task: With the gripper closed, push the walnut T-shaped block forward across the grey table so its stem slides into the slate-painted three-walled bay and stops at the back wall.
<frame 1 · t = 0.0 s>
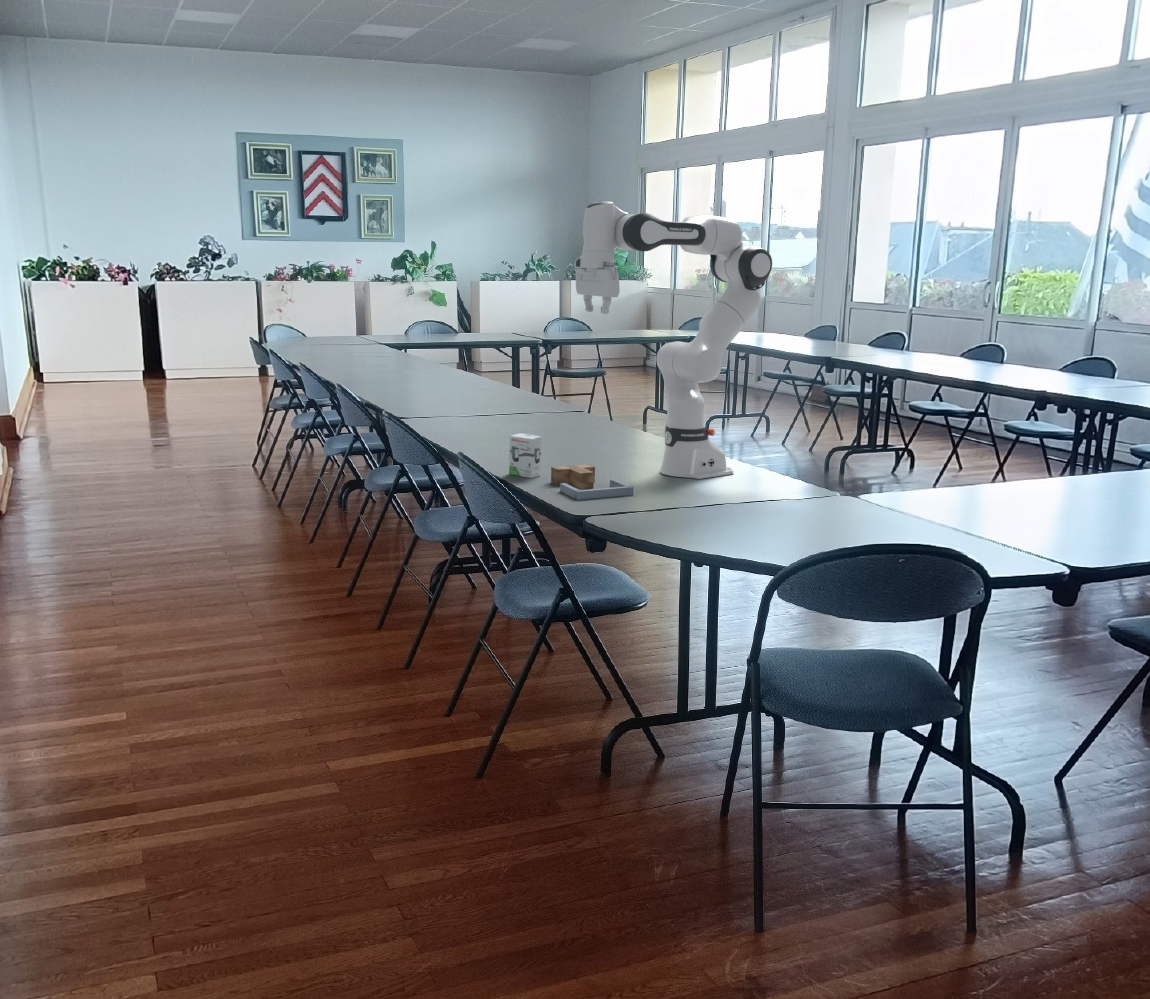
hand: (596, 312, 295), 48 cm above the table, fingers open, 8 cm apart
t block: (572, 482, 303), on the table
ink box: (524, 475, 311), on the table
bay fence: (596, 493, 290), on the table
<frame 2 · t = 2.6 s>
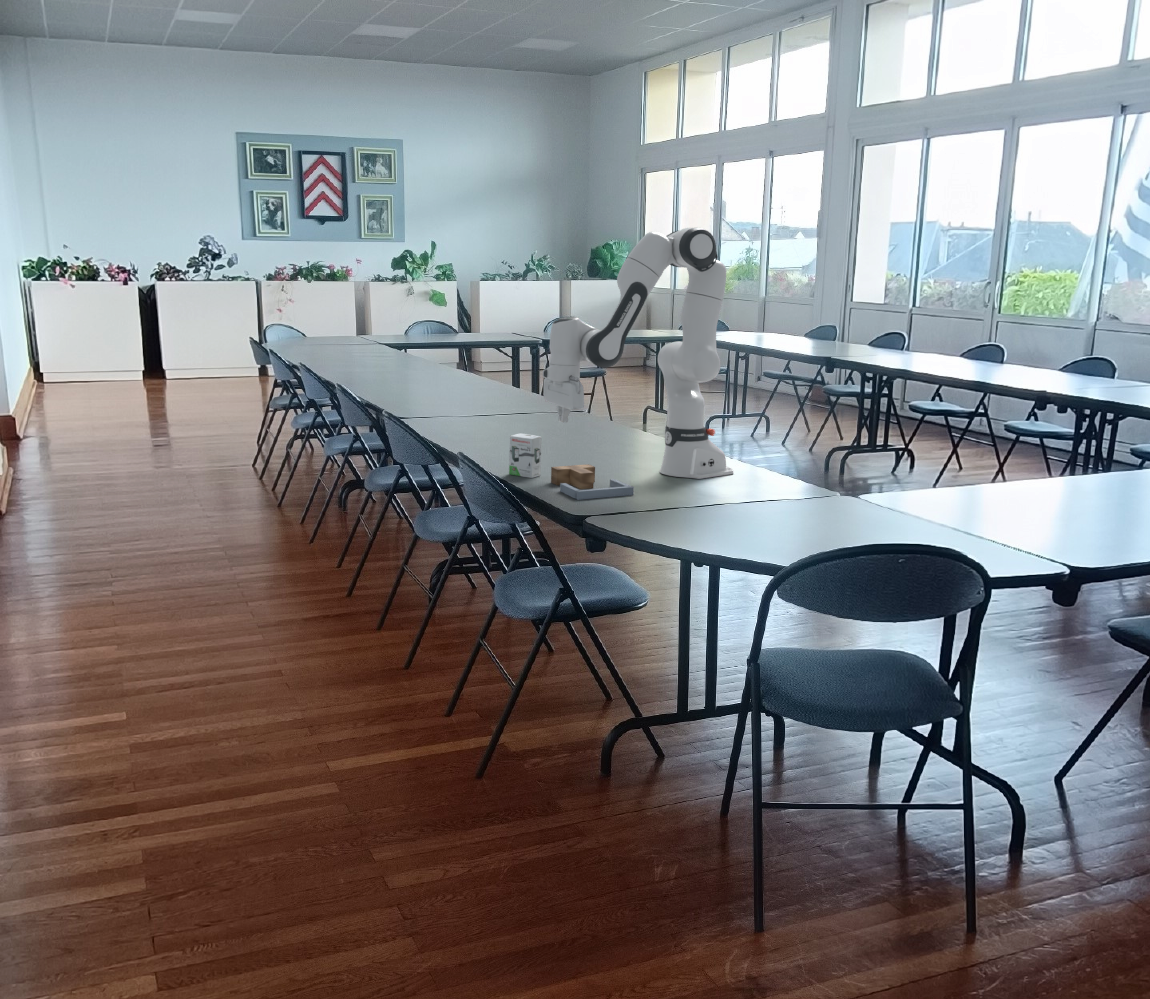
hand: (563, 421, 305), 16 cm above the table, fingers closed
nothing on the table moved.
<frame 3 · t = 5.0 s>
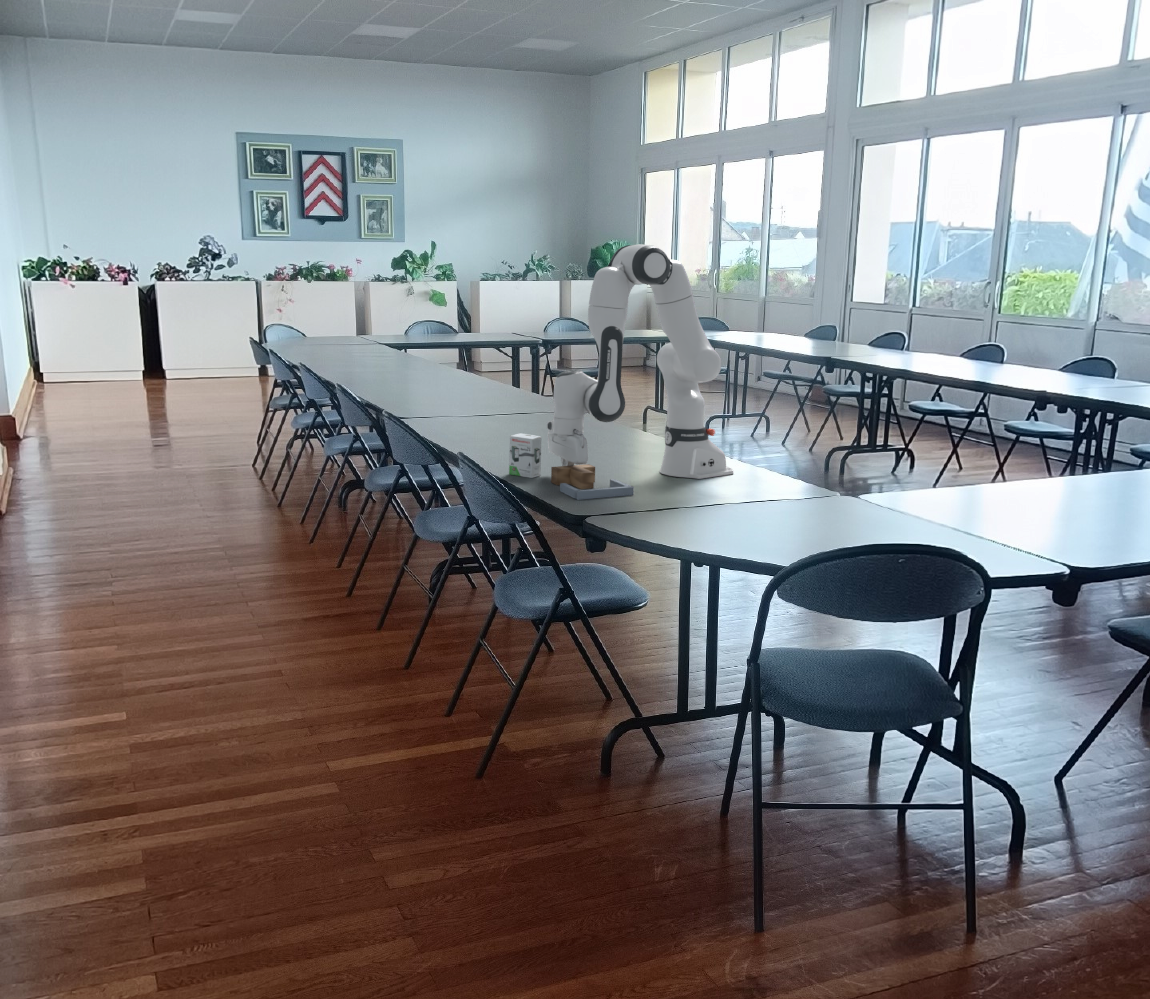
hand: (567, 474, 306), 2 cm above the table, fingers closed
t block: (573, 482, 303), on the table, touching gripper
everything else where it was.
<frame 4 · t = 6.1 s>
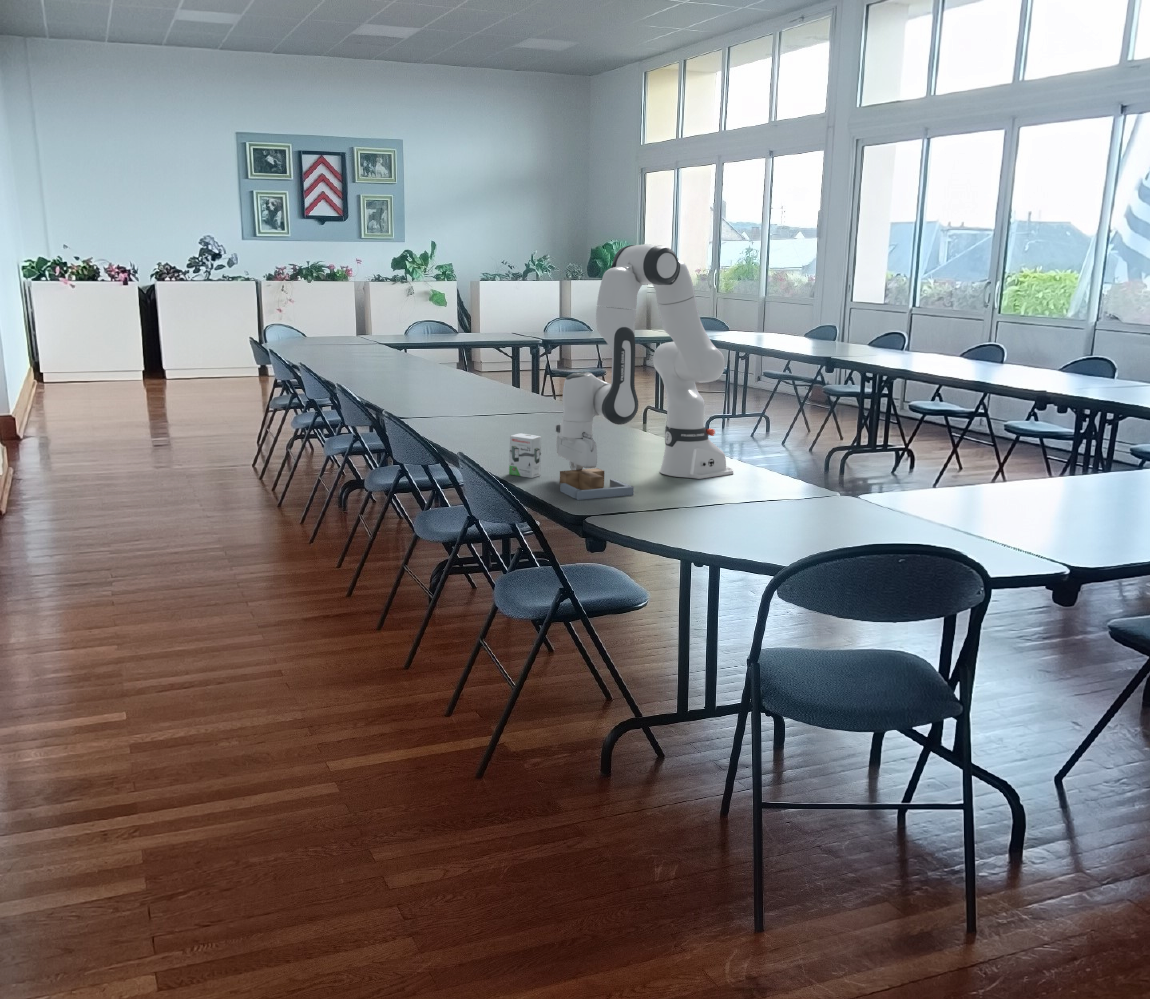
hand: (575, 477, 300), 2 cm above the table, fingers closed
t block: (581, 486, 297), on the table, touching gripper
everything else where it was.
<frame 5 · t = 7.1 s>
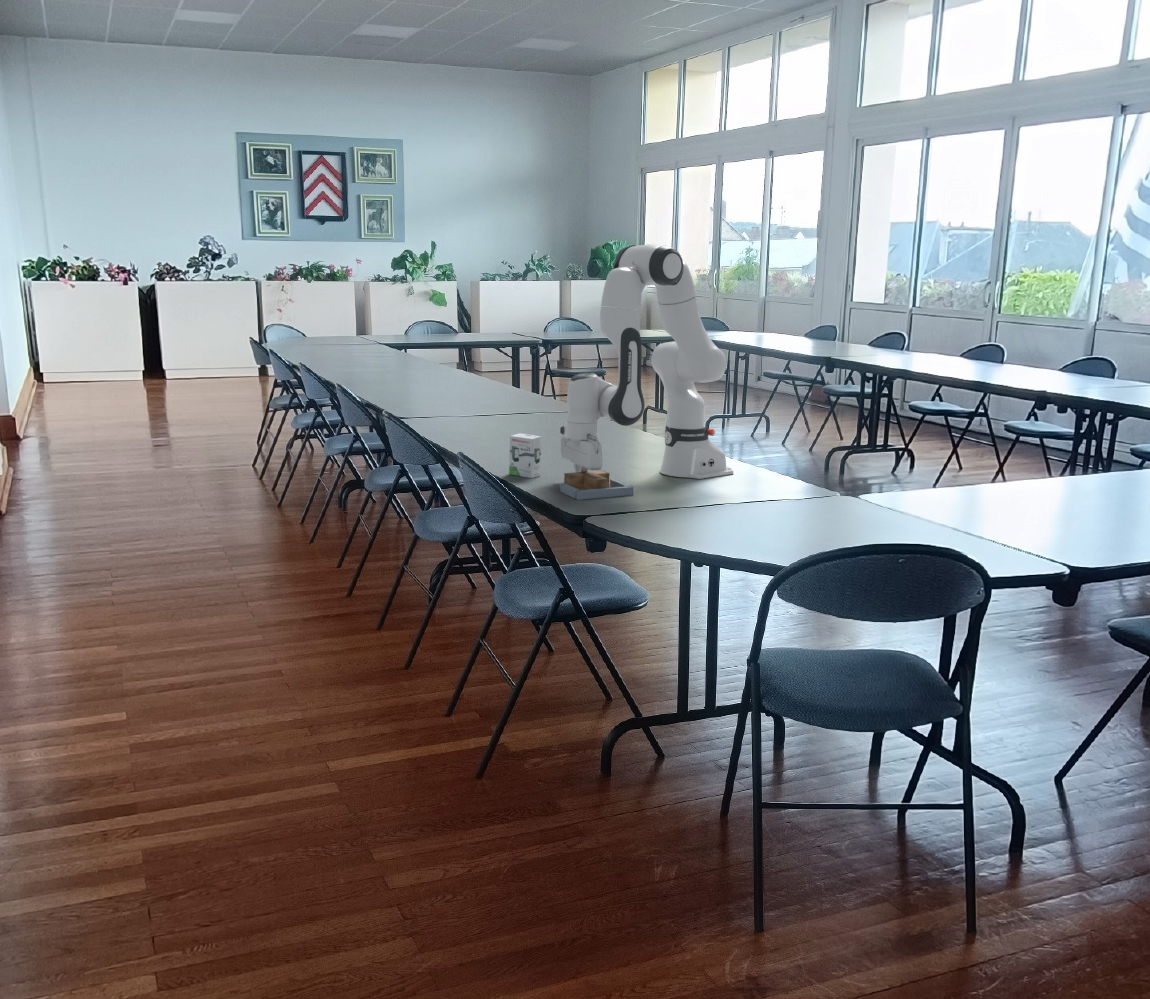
hand: (580, 480, 298), 2 cm above the table, fingers closed
t block: (586, 488, 295), on the table, touching gripper
everything else where it was.
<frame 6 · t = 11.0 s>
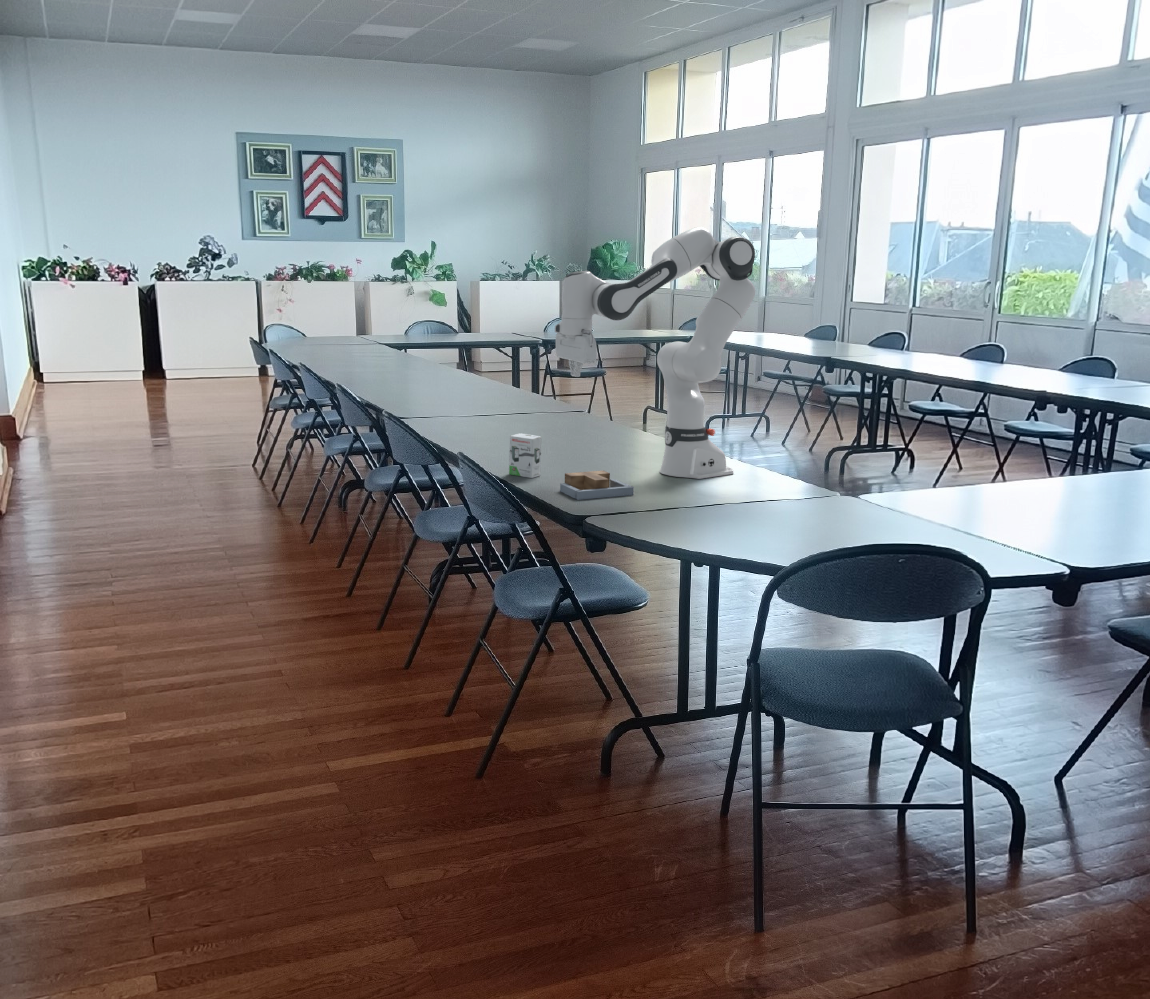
hand: (575, 376, 307), 29 cm above the table, fingers closed
t block: (587, 489, 294), on the table
everything else where it was.
at the end: t block 0.4 cm from the target spot, on the table; t block tilted 0° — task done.
